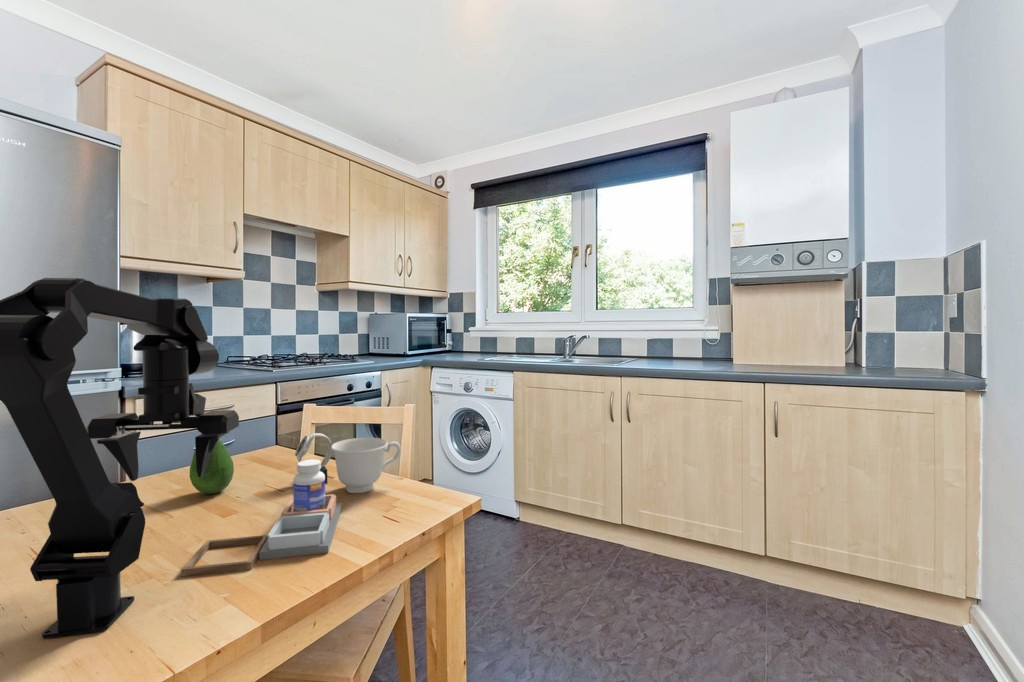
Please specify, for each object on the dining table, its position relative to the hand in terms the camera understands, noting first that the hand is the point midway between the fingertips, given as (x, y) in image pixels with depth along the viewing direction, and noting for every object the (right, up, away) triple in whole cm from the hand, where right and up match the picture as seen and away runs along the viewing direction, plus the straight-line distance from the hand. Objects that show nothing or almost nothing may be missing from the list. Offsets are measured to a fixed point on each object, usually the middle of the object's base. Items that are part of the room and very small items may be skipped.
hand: (167, 478), depth 73 cm
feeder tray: (+9, -12, 0) cm, 16 cm away
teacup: (+22, -11, +31) cm, 39 cm away
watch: (+8, -11, +35) cm, 37 cm away
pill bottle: (+16, -11, +13) cm, 24 cm away
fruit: (-10, -11, +27) cm, 31 cm away
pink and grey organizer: (+18, -12, +9) cm, 23 cm away
